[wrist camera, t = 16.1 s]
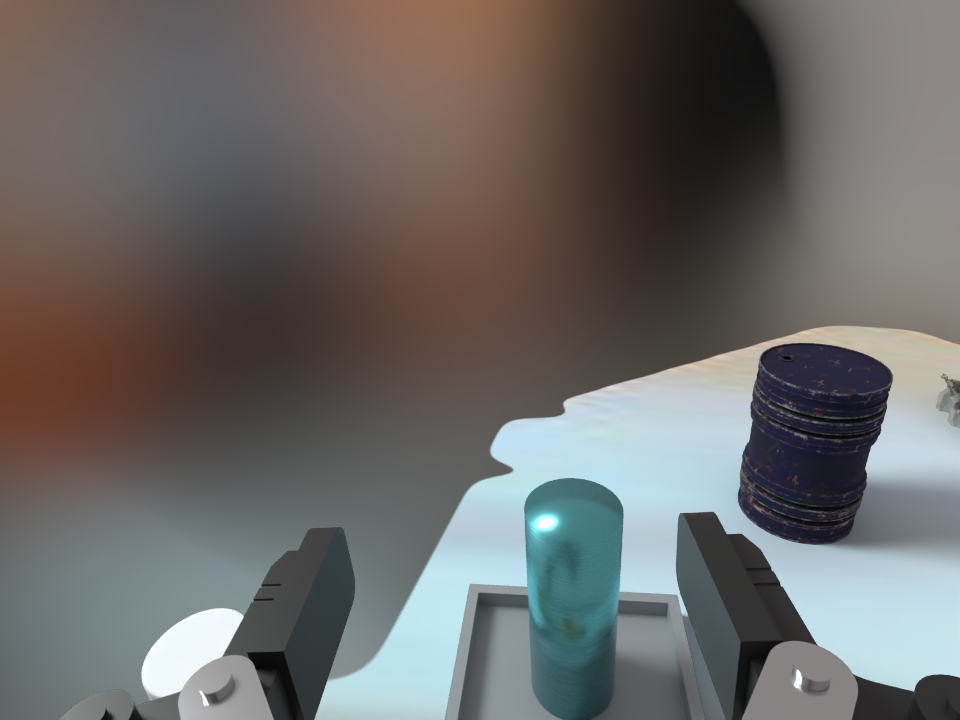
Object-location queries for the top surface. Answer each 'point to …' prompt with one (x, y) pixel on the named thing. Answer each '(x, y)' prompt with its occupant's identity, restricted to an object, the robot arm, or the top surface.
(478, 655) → the tray
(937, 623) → the top surface
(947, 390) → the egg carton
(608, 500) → the bottle
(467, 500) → the top surface
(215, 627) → the supplement bottle
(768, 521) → the dark blue barrel
